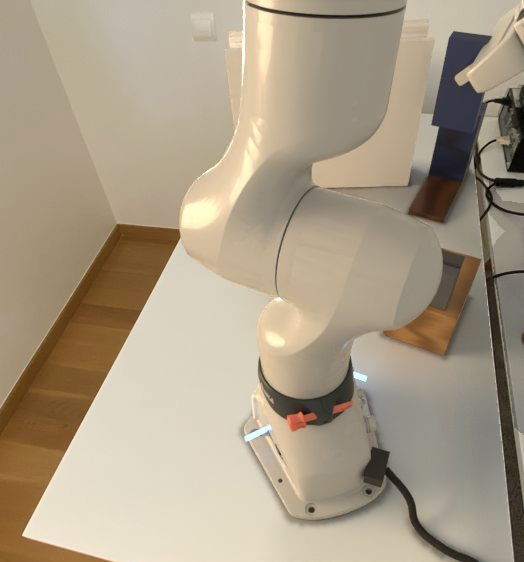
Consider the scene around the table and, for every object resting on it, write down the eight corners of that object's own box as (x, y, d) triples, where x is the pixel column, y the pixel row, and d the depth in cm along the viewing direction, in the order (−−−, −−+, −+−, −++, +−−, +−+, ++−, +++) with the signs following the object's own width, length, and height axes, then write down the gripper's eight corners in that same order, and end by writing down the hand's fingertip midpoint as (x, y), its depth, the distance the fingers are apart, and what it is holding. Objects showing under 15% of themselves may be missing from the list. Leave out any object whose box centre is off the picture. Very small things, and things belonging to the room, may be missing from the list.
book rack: (468, 171, 106) (489, 101, 93) (443, 223, 97) (462, 153, 85) (435, 164, 108) (451, 94, 96) (407, 213, 99) (421, 144, 87)
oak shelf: (467, 297, 85) (482, 258, 78) (443, 355, 79) (457, 319, 71) (410, 280, 89) (419, 241, 81) (383, 334, 82) (390, 297, 75)
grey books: (452, 293, 74) (465, 256, 68) (444, 311, 73) (457, 274, 66) (413, 281, 76) (422, 244, 70) (404, 298, 75) (413, 261, 68)
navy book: (475, 126, 86) (500, 36, 74) (471, 133, 84) (496, 44, 73) (435, 118, 88) (453, 30, 77) (430, 125, 87) (448, 37, 75)
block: (241, 189, 108) (223, 51, 85) (245, 167, 112) (228, 30, 90) (407, 185, 104) (434, 39, 82) (404, 163, 109) (428, 19, 86)
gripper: (554, -36, 72) (468, 29, 84) (522, 22, 62) (430, 88, 74) (574, 3, 74) (488, 62, 86) (547, 65, 64) (453, 123, 76)
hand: (461, 74), depth 80 cm, fingers closed on navy book, 2 cm apart
